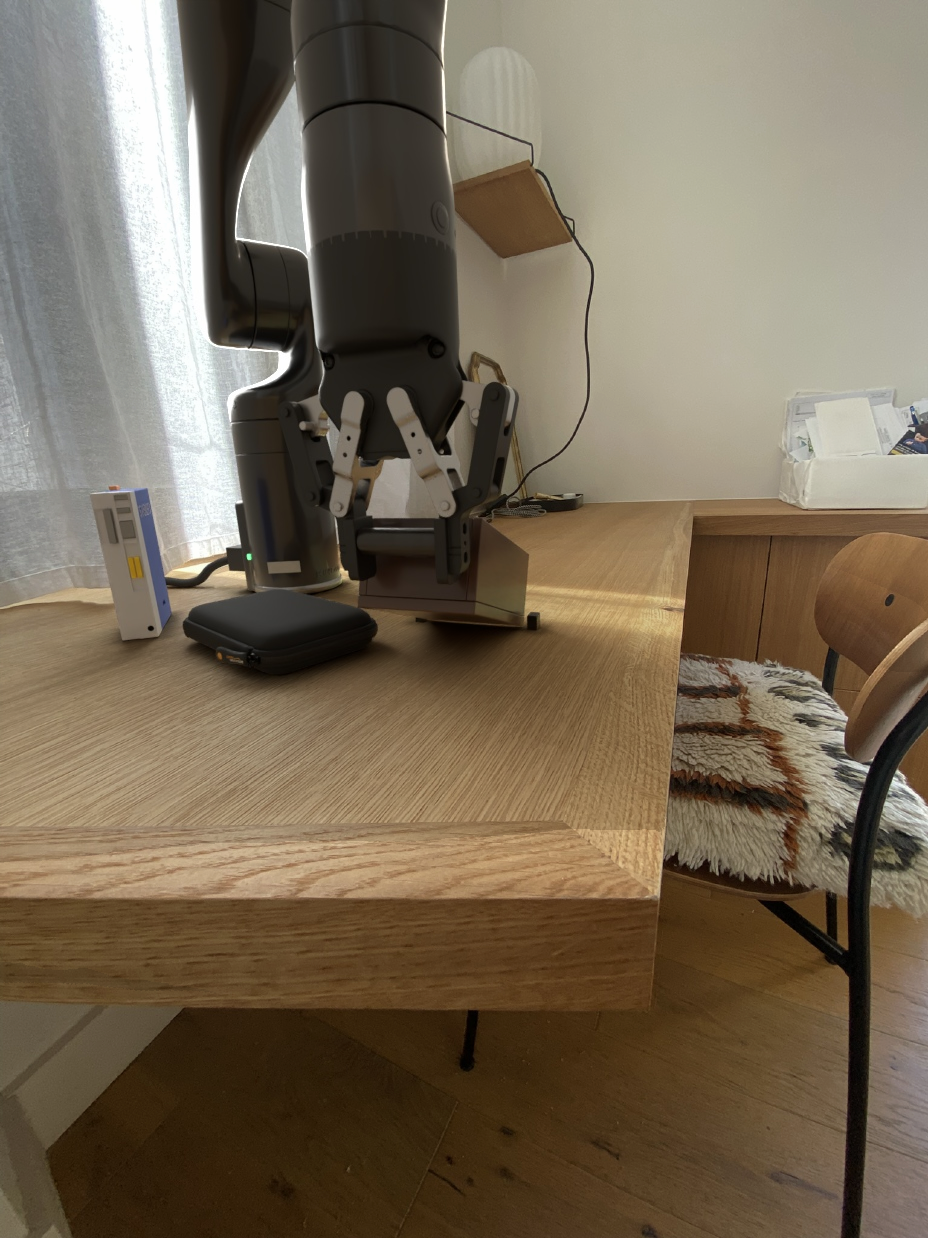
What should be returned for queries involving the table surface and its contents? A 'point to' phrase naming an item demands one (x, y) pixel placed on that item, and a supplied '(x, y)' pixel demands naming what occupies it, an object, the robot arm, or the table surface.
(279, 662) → the carrying case
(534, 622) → the dark bar
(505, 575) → the brown box with handle
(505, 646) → the table surface
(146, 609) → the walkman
